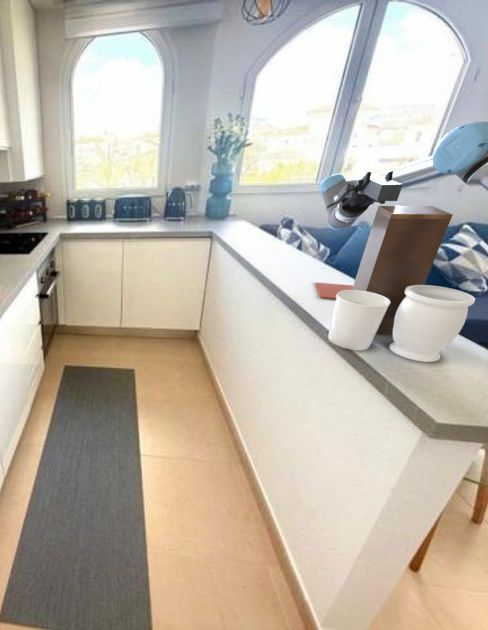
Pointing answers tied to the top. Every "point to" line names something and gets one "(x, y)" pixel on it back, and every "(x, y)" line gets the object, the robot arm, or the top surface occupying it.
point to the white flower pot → (356, 318)
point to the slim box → (382, 189)
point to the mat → (331, 290)
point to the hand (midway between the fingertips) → (379, 176)
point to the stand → (400, 253)
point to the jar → (428, 321)
